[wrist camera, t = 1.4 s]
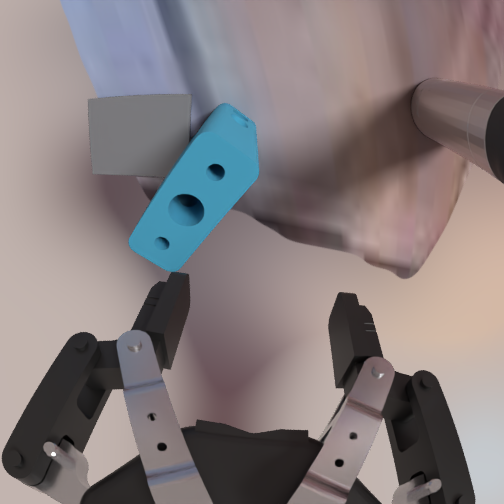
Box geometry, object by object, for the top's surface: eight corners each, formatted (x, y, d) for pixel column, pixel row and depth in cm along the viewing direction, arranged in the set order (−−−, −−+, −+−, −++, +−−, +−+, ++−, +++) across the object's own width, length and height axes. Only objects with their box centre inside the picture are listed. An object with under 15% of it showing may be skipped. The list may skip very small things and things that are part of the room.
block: (204, 181, 42) (174, 275, 25) (175, 162, 40) (124, 245, 24) (258, 116, 36) (265, 169, 20) (227, 93, 34) (204, 126, 18)
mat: (191, 94, 35) (190, 94, 34) (189, 177, 41) (188, 178, 41) (89, 99, 35) (88, 99, 35) (93, 173, 42) (92, 174, 41)
